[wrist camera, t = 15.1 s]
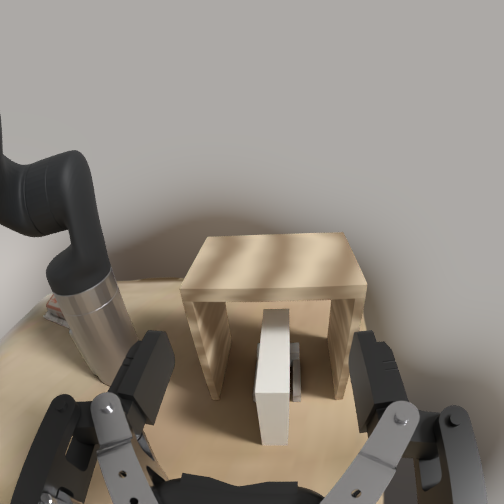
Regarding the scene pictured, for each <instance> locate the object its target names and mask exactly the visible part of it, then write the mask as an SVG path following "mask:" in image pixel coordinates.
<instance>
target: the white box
mask: <svg viewBox="0 0 504 504" xmlns="http://www.w3.org/2000/svg"><path fill="white" fill-rule="evenodd" d="M289 396H290V332H289V309H264V310H263V320H262V330H261V340H260V349H259V359H258V368H257V378H256V387H255V397H256V404H257V412H258V419H259V426H260V432H261V439H262V445H288V427H289Z"/></svg>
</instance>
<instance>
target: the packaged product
mask: <svg viewBox="0 0 504 504" xmlns="http://www.w3.org/2000/svg"><path fill="white" fill-rule="evenodd" d="M46 307H47V310H48V311H47V312H46V315H44V316H43V317H44V318H45V319H47V320H50V321H53V322H55V323H57V324H60V325H62V326H65V327H67V328H69V329H70V327H69V325H68V323H67V321H66V319H65V317H64V315H63V313H62V311H61V309H60V307H59V305H58V303H57V301H56V298H55V296H54V294H53V295H52V297H51V298H50V300H49V301H48V303H47V304H46Z"/></svg>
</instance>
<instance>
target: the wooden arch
mask: <svg viewBox="0 0 504 504" xmlns="http://www.w3.org/2000/svg"><path fill="white" fill-rule="evenodd" d="M366 289H367V283H366V280H365V278H364V276H363V273H362V272H361V269H360V267H359V265H358V262H357V260H356V258H355V256H354V254H353V252H352V249H351V247H350V245H349V243H348V241H347V239H346V237H345V235H344V233H342V232H341V233H304V234H272V235H244V236H220V237H207V239H206V241H205V243H204V244H203V246H202V248H201V250H200V251H199V253H198V255H197V257H196V259H195V261H194V262H193V264H192V266H191V268H190V270H189V272H188V273H187V275H186V277H185V279H184V281H183V283H182V285H181V286H180V288H179V290H180V293H181V297H182V301H183V305H184V309H185V313H186V316H187V320H188V323H189V327H190V331H191V334H192V338H193V341H194V344H195V348H196V351H197V354H198V358H199V361H200V364H201V367H202V370H203V374H204V377H205V380H206V383H207V386H208V389H209V392H210V395H211V398H212V399H214V400H219V399H220V394H221V389H222V385H223V380H224V375H225V370H226V366H227V361H228V356H229V352H230V347H231V342H232V339H231V333H230V328H229V322H228V316H227V310H226V304H225V302H273V301H310V300H331V309H330V318H329V328H328V336H327V342H328V348H329V355H330V362H331V370H332V377H333V385H334V393H335V400H339V399H343V396H344V392H345V389H346V385H347V381H348V377H349V365H348V360H349V353H350V349H351V344H352V340H353V335H354V332H358V331H359V329H360V324H361V319H362V313H363V308H364V302H365V295H366ZM259 349H260V343H258V346H257V362H256V371H255V380H254V388H253V402H256V397H255V387H256V378H257V368H258V359H259ZM299 353H300V352H299V343H290V366H293V402H301V377H300V359H299Z"/></svg>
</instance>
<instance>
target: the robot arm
mask: <svg viewBox="0 0 504 504" xmlns="http://www.w3.org/2000/svg"><path fill="white" fill-rule="evenodd" d="M0 224H1V225H3V226H5V227H7V228H9V229H11V230H13V231H16V232H18V233H20V234H23V235H25V236H30V237H42V236H46V235H49V234H53V233H57V232H60V231H64V230H69V234H70V240H71V245H70V246H69V247H68V248H67V249H65V250H64V251H62V252H61V253H60V254H58V255H57V256H56V257H55V258H54V259H53V260H52V261H51V262H50V263H49V265H48V267H47V269H46V277H47V280H48V282H49V285H50V287H51V289H52V292H53V294H54V296H55V298H56V301H57V303H58V305H59V307H60V309H61V311H62V313H63V315H64V317H65V319H66V321H67V323H68V325H69V327H70V330H69V334H70V336H71V338H72V339H73V341H74V343H75V345H76V347H77V348H78V350H79V352H80V353H81V355H82V357H83V358H84V360H85V362H86V363H87V365H88V367H89V368H90V370H91V371H92V373H93V374H94V375H97V376H98V377H99V379H100V380H101V381H102V382H103V383H104V384H106V385H108V386H110V388H109V390H108V392H106V393H102V394H99V395H98V396H96V397H95V398H94V399H93V401H86V402H76V401H75V400H74V399H73V398H72V397H71V396H70V395H67V394H62V395H59V396H57V397H56V398H54V399H53V401H52V402H51V404H50V406H49V408H48V410H47V412H46V414H45V417H44V419H43V421H42V423H41V425H40V427H39V429H38V432H37V434H36V436H35V438H34V441H33V443H32V445H31V448H30V450H29V453H28V455H27V458H26V460H25V463H24V465H23V468H22V470H21V473H20V476H19V479H18V481H17V484H16V487H15V490H14V493H13V496H12V499H11V503H10V504H84V502H85V498H86V495H87V491H88V488H89V484H90V481H91V477H92V474H93V471H94V468H95V464H96V461H97V458H98V462H99V465H100V468H101V471H102V474H103V477H104V480H105V483H106V486H107V488H108V491H109V494H110V496H111V499H112V501H113V504H376V502H377V501H378V500H379V498H380V497H381V495H382V493H383V492H384V490H385V489H386V487H387V486H388V484H389V482H390V480H391V479H392V477H393V475H394V474H395V471H396V466H397V464H398V462H399V460H400V458H413V460H414V468H415V477H416V487H417V499H418V504H488V501H487V494H486V487H485V481H484V475H483V471H482V465H481V460H480V456H479V452H478V447H477V444H476V440H475V436H474V432H473V429H472V425H471V421H470V418H469V415H468V413H467V412H466V410H465V409H463V408H462V407H460V406H456V405H453V406H449V407H447V408H445V409H444V410H443V411H442V412H441V413H436V412H424V411H420V410H418V409H417V408H416V407H415V406H414V405H413V404H412V403H410V402H409V401H408V398H407V395H406V392H405V389H404V386H403V382H402V379H401V376H400V373H399V370H398V367H397V364H396V362H395V358H394V355H393V352H392V350H391V349H390V347H389V346H388V345H387V344H386V343H385V342H376V339H375V336H374V333H373V331H372V330H370V331H358V332H354V335H353V340H352V344H351V349H350V353H349V360H348V365H349V373H350V378H351V383H352V389H353V395H354V401H355V407H356V413H357V419H358V426H359V433H364V432H367V433H368V440H367V442H366V443H365V445H364V446H363V448H362V449H361V451H360V452H359V453H358V455H357V456H356V458H355V459H354V460H353V462H352V463H351V465H350V466H349V467H348V469H347V470H346V472H345V473H344V474H343V476H342V477H341V478H340V479H339V481H338V482H337V483H336V485H335V486H334V487H333V488H332V490H331V491H330V492H329V493H328V494H327V496H326V497H323V496H322V495H320V494H319V493H317V492H315V491H312V490H310V489H307V488H303V487H298V482H264V483H259V484H253V485H246V486H234V485H230V484H227V483H224V482H221V481H219V480H216V479H213V478H210V477H204V476H198V475H191V474H186V473H182V477H181V478H178V479H172V480H169V479H168V477H167V475H166V474H165V472H164V471H163V469H162V468H161V467H160V465H159V463H158V461H157V459H156V457H155V455H154V453H153V451H152V449H151V446H150V444H149V442H148V440H147V437H146V435H145V432H144V431H143V428H144V425H145V424H149V425H154V423H155V420H156V417H157V414H158V411H159V408H160V405H161V403H162V400H163V397H164V394H165V391H166V388H167V385H168V383H169V380H170V377H171V374H172V371H173V369H174V365H175V356H174V353H173V350H172V347H171V345H170V342H169V339H168V336H167V334H166V332H164V331H152V330H148V331H147V332H146V334H145V336H144V338H143V340H142V341H139V339H138V337H137V334H136V332H135V330H134V327H133V325H132V322H131V320H130V317H129V315H128V312H127V310H126V307H125V304H124V302H123V299H122V296H121V294H120V291H119V288H118V285H117V282H116V280H115V277H114V274H113V271H112V268H111V264H110V262H109V258H108V255H107V250H106V246H105V241H104V236H103V233H102V229H101V225H100V220H99V216H98V211H97V205H96V200H95V194H94V187H93V182H92V176H91V172H90V169H89V166H88V163H87V161H86V159H85V157H84V156H83V155H82V154H81V153H80V152H78V151H76V150H72V151H67V152H64V153H61V154H57V155H55V156H51V157H49V158H46V159H43V160H40V161H38V162H35V163H33V164H29V165H20V164H17V163H15V162H13V161H11V160H10V159H8V158H7V157H6V156H4V155H3V151H2V128H1V116H0ZM72 436H73V438H72V440H71V443H70V445H69V448H68V451H67V453H66V450H67V447H68V444H69V442H70V439H71V437H72ZM65 453H66V456H65Z"/></svg>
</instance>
